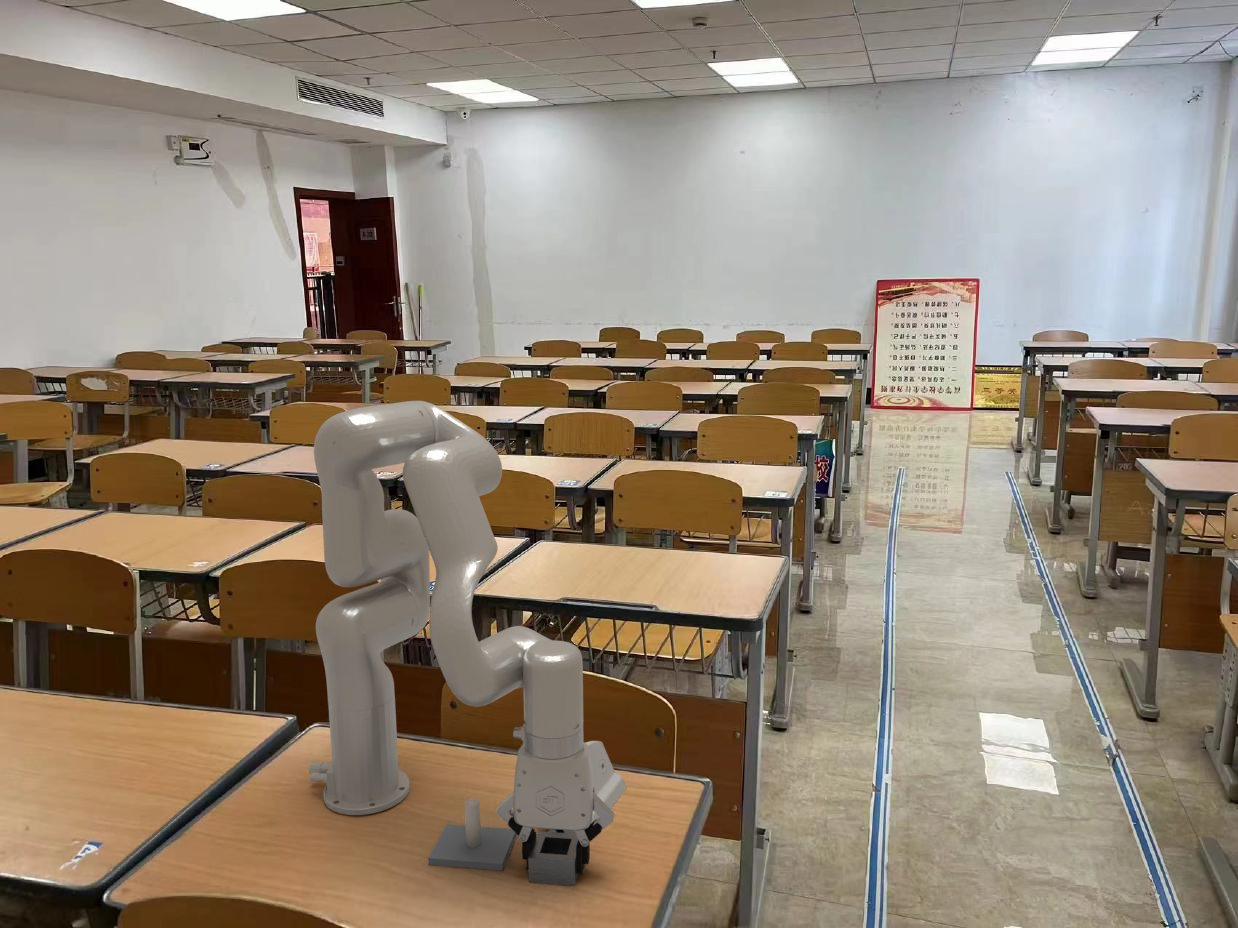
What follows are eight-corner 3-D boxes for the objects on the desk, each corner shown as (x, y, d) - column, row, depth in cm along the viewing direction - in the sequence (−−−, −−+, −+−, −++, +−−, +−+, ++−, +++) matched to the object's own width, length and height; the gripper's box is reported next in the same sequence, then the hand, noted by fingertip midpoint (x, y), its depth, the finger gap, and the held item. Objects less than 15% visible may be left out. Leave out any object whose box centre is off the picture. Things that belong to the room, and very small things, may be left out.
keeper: (428, 864, 124) (426, 816, 122) (447, 830, 132) (445, 785, 130) (502, 870, 123) (501, 822, 121) (516, 835, 130) (515, 789, 129)
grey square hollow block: (528, 882, 120) (528, 857, 119) (538, 854, 126) (538, 831, 125) (574, 885, 119) (574, 861, 119) (582, 857, 125) (582, 834, 125)
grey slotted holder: (582, 846, 128) (559, 778, 127) (553, 849, 130) (530, 783, 129) (627, 786, 143) (606, 725, 142) (600, 790, 145) (580, 730, 144)
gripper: (480, 748, 117) (484, 878, 120) (617, 757, 114) (617, 888, 118) (495, 721, 124) (499, 844, 127) (624, 728, 122) (624, 853, 125)
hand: (556, 864), depth 122 cm, fingers closed on grey square hollow block, 6 cm apart
